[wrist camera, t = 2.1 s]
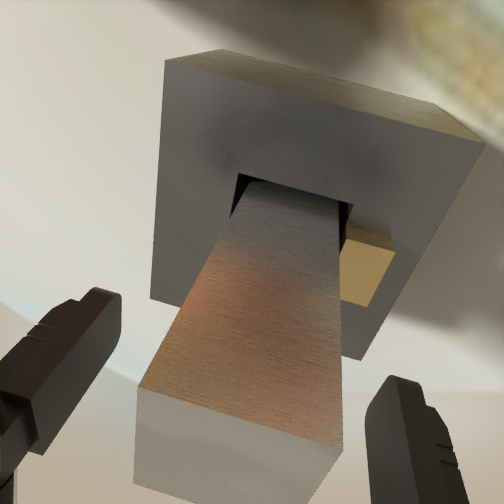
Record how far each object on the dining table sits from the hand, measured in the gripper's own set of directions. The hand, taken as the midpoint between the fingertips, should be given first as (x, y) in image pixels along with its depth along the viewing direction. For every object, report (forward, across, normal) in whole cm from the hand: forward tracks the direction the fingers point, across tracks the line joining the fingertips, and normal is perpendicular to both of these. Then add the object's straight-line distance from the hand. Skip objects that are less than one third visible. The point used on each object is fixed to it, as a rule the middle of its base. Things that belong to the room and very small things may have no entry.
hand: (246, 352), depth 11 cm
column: (+15, 0, 0) cm, 15 cm away
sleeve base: (+15, 0, 0) cm, 15 cm away
